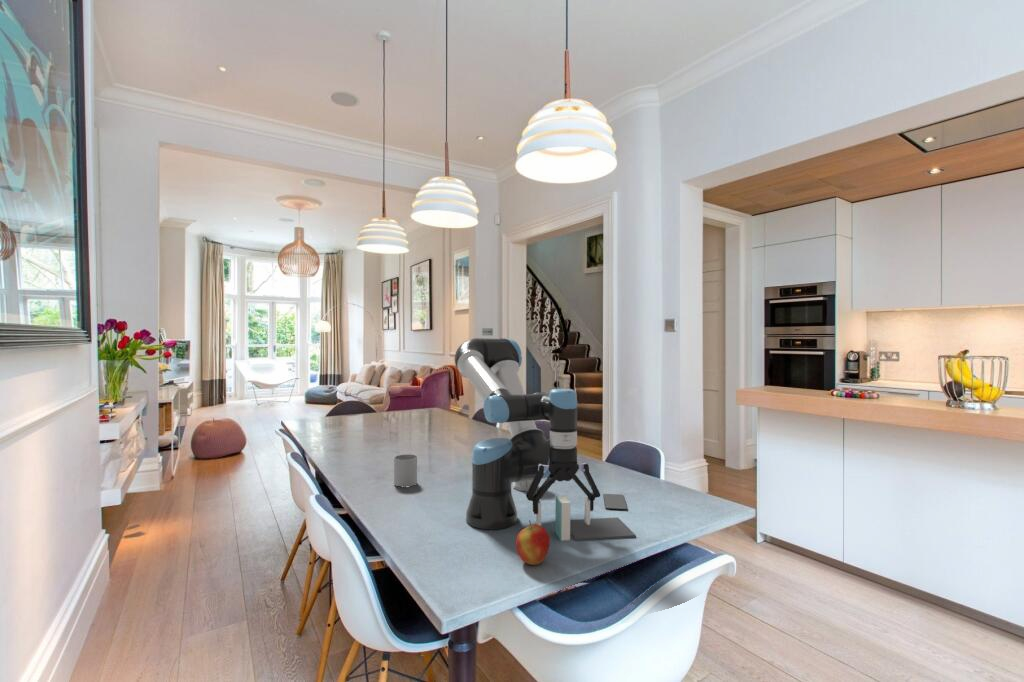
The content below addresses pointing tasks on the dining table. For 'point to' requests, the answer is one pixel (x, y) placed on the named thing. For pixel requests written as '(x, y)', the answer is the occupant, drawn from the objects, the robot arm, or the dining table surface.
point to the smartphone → (615, 502)
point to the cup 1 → (405, 470)
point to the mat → (599, 529)
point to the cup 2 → (522, 485)
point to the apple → (533, 544)
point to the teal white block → (562, 518)
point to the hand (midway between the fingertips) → (563, 524)
